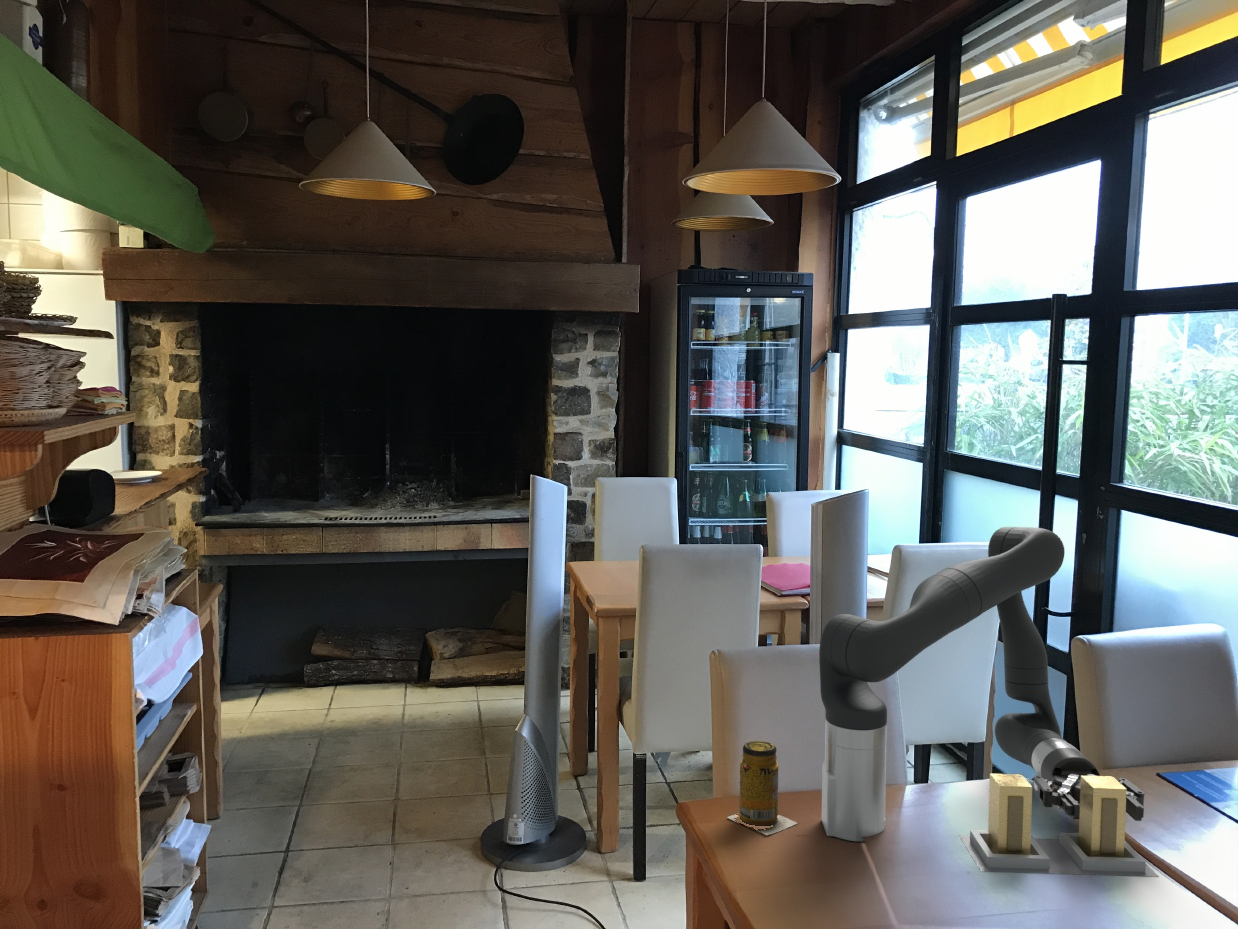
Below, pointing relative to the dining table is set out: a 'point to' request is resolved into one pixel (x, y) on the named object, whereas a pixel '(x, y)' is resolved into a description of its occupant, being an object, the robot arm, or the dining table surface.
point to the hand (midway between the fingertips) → (1108, 813)
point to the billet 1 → (1009, 814)
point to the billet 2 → (1102, 816)
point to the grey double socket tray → (1054, 858)
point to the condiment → (760, 788)
